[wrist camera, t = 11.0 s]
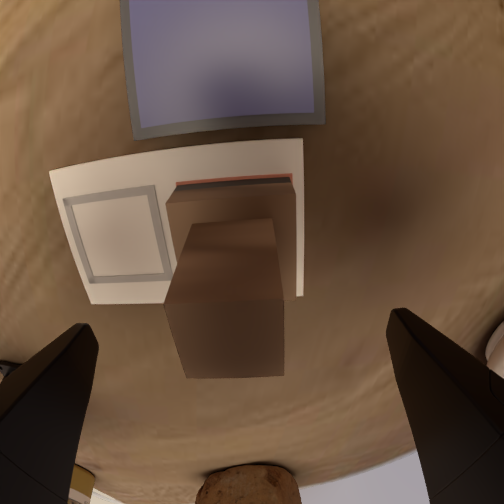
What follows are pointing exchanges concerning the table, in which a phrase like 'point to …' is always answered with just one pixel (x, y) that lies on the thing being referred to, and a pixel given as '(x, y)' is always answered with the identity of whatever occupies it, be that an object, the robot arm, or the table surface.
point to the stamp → (232, 275)
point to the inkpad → (221, 64)
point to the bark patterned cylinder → (81, 486)
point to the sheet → (155, 210)
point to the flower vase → (496, 351)
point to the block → (250, 486)
